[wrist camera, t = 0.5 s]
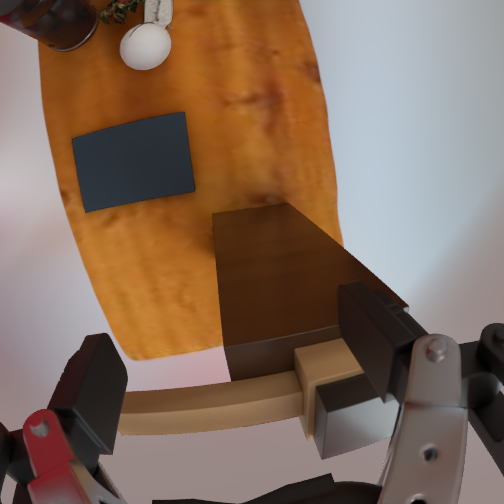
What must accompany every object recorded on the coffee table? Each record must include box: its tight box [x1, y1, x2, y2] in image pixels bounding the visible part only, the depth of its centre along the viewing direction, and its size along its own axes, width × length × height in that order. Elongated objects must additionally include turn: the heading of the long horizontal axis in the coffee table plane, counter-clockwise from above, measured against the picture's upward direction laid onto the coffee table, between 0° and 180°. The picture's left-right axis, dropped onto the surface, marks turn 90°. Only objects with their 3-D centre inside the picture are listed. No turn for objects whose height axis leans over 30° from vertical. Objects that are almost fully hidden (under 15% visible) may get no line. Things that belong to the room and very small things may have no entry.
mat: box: [72, 112, 195, 213], centre depth 41 cm, size 12×18×1 cm, turn 96°
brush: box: [117, 338, 399, 460], centre depth 16 cm, size 6×18×5 cm, turn 96°
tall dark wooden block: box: [213, 203, 409, 427], centre depth 33 cm, size 8×12×32 cm, turn 96°
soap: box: [144, 0, 173, 29], centre depth 32 cm, size 10×4×1 cm, turn 2°
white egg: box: [120, 22, 172, 70], centre depth 33 cm, size 10×7×7 cm
